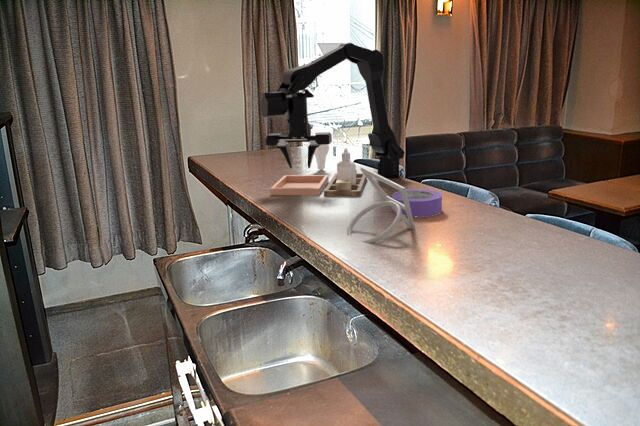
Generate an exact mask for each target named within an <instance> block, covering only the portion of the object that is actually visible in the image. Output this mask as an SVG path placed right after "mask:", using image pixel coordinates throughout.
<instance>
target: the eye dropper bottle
mask: <svg viewBox="0 0 640 426" xmlns="http://www.w3.org/2000/svg"><path fill="white" fill-rule="evenodd" d="M356 169H357V166H356V164H355V162H354V161H351V153H350V152H349V151H348V148H344V151H343V152H342V153H341V161H339V162H337V164H336V173H337V180H351V185H356Z"/></svg>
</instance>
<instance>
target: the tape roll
mask: <svg viewBox="0 0 640 426" xmlns="http://www.w3.org/2000/svg"><path fill="white" fill-rule="evenodd" d="M406 192H407V196H408V200H409V205H410V209H411V213H412V216H417V217H416V218H426V217H425V216H429V217H433V216H432V215H435V216H437V215H436V214H438V215H440V214H441V213H442V212H443V211H442V210H443V194H442V193H441V192H440V191H437V190H432V189H424V188H413V189H411V188H410V189H406ZM391 195H392V197H391V198H393V199H395V200H396V201H398V202H400V203H402V204H404V201H403V197H402V193H401V191H399V190H397V191H395V192H394V193H393V194H391ZM391 209H392V208H391ZM441 211H442V212H441ZM391 212H392V213H393V212H394V214H395V213H396V212H395V211H394V210H393V209H392V211H391ZM402 213H403V215H405V217H407V213H406V211H405V210H403V209H402ZM439 213H440V214H439ZM396 215H397V213H396ZM423 216H424V217H423Z"/></svg>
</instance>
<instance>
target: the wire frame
mask: <svg viewBox="0 0 640 426" xmlns="http://www.w3.org/2000/svg"><path fill="white" fill-rule="evenodd" d="M360 171H361V172H362V173H363V174H364V175H365V176H366V177H367V180H368V181H369V182H370V183H371V184H372V186H373V187H374V188H375V190H376V191H377V192H378V194H380V196H381V197H382V198H383V199H384V200H382V201H378V202H375V203H373V204H371V205H369V206H367V207H365V208H364V209H362V210H361V211H359V213H357V215H355V216H354V218H353V219H352V220H351V222H350V223H349V225H348V227H347V229H346V230H347V231H346V235H347V236H348V237H352V235H353V234H352V233H353V229H354V227H355V225H356V224H357V222H358V221H359V220H360V219H361V218H362V217H363V216H365V215H366V214H368V213H369V212H371V211H372V210H374V209H377V208H380V207H384V206H385V207H386V206H389V207H391V209H393V210H394V211H395V212H396V213H397V214H396V216H395V219H394V220H393V222H392V223H391V225H390V226H389V227H388V228H386V229H385V230H384V231H383V232H381V233H379V234H378V235H376V236H374V237H372V238H368V239H363V240H359V242H361V243H366V244H374V243H377V242H378V241H380V240H383V239H384V238H385V237H387V236H389V234H391V233H392V232H393V231H394V230H395V229H396V228H397V226H398V224H399V223H400V222H401V220H402V223H404V224H405V225H406V227H407V228H408V229H410V230H412V231H413V230H415V229H416V227H415V222H414V217H412V213H411V209H410V205H409V200H408V196H407V192H406V190H407V189H406V187H404V186H402V185H400V184H398V183H396V182H394V181H392V180H390V179H389V178H384V177H382V176H380V175H378V173H376V172H374V171H372V170H370V169H368V168H366V167H363V166H361V167H360ZM375 179H376V180H378V181H380V182H382V183H384V184H386V185H387V186H389V187H391V188H394V189H395V190H397V191H401V193H402V197H403V201H404V204H402V203H400V202H398V201H396V200H395V199H393V198H392V197H390V196H389V195H388V194H387V193H386V191H384V190H383V188H382V187H381V186H380V185H379V184H378V182H377V181H376V180H375ZM402 209H403V210H405V211H406V213H407V216H404V215H403V213H402Z"/></svg>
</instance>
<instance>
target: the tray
mask: <svg viewBox="0 0 640 426" xmlns="http://www.w3.org/2000/svg"><path fill="white" fill-rule="evenodd" d="M329 179H330V178H329V174H320V175H319V174H318V175H317V174H315V175H314V174H312V175H309V174H308V175H306V174H303V175H302V174H295V175H294V174H293V175H291V174H288V175H287V174H286V175H283V176H282V177H281V178H280V179H278V181H277V182H276V183H275V184H274V185H272V187H270V189H269V190H270V196H320V195H321V194H322V192H324V190H325V189H326V187H327V186H328V184H329V182H330V180H329Z"/></svg>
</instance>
